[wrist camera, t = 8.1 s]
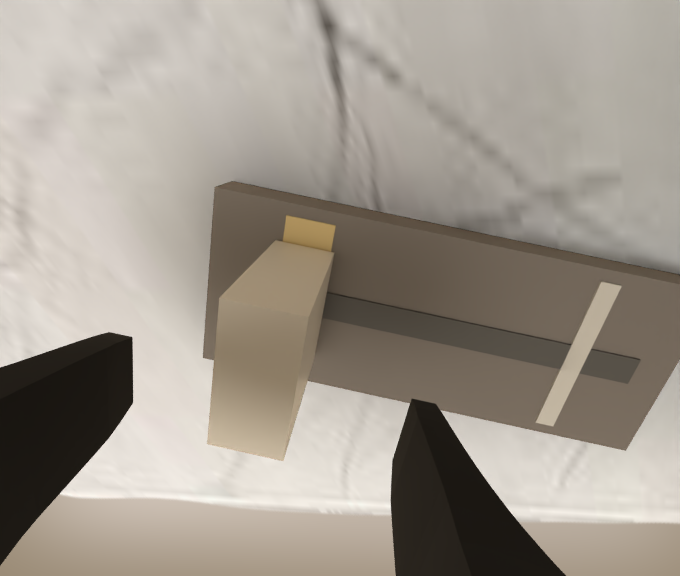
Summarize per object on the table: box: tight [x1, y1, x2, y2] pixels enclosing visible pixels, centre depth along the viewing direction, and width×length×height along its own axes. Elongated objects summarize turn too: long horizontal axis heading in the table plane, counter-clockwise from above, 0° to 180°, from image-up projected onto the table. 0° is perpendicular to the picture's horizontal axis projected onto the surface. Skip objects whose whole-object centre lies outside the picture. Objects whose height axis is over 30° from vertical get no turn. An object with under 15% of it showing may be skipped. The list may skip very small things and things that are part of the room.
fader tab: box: [207, 240, 334, 461], centre depth 14 cm, size 2×5×6 cm, turn 170°
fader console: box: [203, 181, 680, 450], centre depth 18 cm, size 20×8×2 cm, turn 80°
